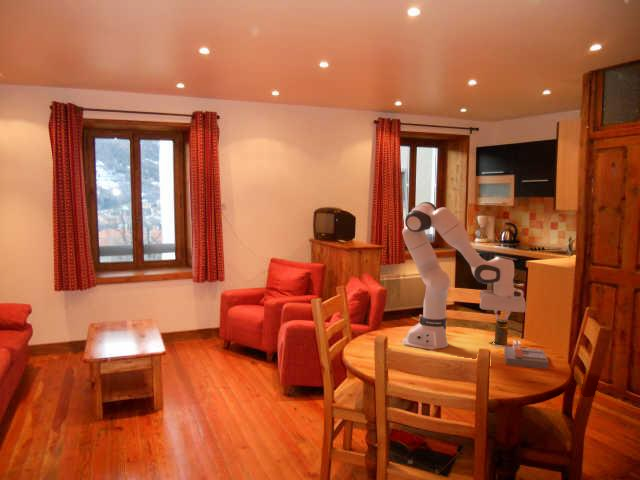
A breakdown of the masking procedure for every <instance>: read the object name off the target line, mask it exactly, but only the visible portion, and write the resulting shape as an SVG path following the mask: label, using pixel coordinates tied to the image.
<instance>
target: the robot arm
mask: <svg viewBox="0 0 640 480" xmlns="http://www.w3.org/2000/svg"><path fill="white" fill-rule="evenodd" d="M404 223H405V226H404V227H403V229H402V232H401V233H402V237H403V241H404V243H405V246H406V247H407V248H406V249H407V250H408V252H409V254H410V255H411V258H412V260H413V261H414V264H415V266H416V269H417V271H418V274H419V275H420V278H421V280H422V282H423V283H424V285H425V293H424V294H425V295H424V299H423V311H422V313H423V314H419V316H418V323H416V324H415V325H414V326H412V327H411V328H410V329H409V330H408V332H407V336H405V337H404V338H403V339H402V344H403V345H404V346H405V347H412V348H414V347H415V348H419V349H425V350H431V351H434V350H438V349H444V348H447V347H448V346H449V343H448V339H447V338H448V337H447V332H446V331H447V325H448V324H447V316H446V315H447V314H446V313H447V299H448V295H449V288H450V285H451V281H450V280H451V279H450V276H449V274H448V273H447V272H446V271H444V270H443V268H441V267H442V266H440V263H439V261H438V260H439V259H438V258H437V255H436V252H435V250H434V248H433V246H432V245H431V242H430V240H429V238H428V236H427V234H426V231H427V230H430V228H433V229H435V230H436V232H437V233H438V234H439V236H440V237H441V239H443V240H444V241H445V243H447V244H448V245H449V246H450V247H452V248H454V249H456V250H457V251H458V252H459V253H460V254H461V255H462V256H463V258H464V259H465V261H467V263H468V265H469V267H470V270H471V274H472V276H473V277H474V278H475V280H476V281H477V282H478V283H480V284H483V285H484V284H485V285H487V284H493V289H482V290H481V291H480V292H479V298H480V303H479V308H480V309H481V310H486V311H487V310H488V311H493V313H494V314H495V316H496V317H495V318H496V321H497V320H501V317H500V315H498V312H499V311H500V312H501V311H502V312H506V313H507V314H506V315H504V318H503V320H506V321H507V322H508V321H509V320H508V319H509V317H510V315H511V313H512V312H514V313H515V312H516V313H525V312H526V311H527V310H526V309H527V304H526V300H525V297H524V294H525V293H524V291H523V290H522V289H520V288H516V287H514V286H515V285H514V277H515V263H514V261H513V259H512V258H511V257H508V256H503V255H497V256H495V257H494V258H492V259H489V260H487V259H484V258H483V257H481V256H480V254H479V253H478V251H477V250H476V249H475V247H473V245H472V244H471V241H470V239H469V235H468V232H467V230H466V228H465V226H464V225H463V224H462V221H460V220H459V218H458V217H457V216H456V215H455V214H454V212H452V211H451V210H450V209H448V208H447V207H445V206H443V207H439V208H437V206H436V205H435V204H434V203H432V202H429V201H424V202H421V203H419V204H417V205H416V206H414V207H413V208H412V210H410V211H409V212H408V213H407V215H406V217H405V220H404Z"/></svg>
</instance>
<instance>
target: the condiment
mask: <svg viewBox="0 0 640 480" xmlns="http://www.w3.org/2000/svg"><path fill="white" fill-rule="evenodd" d="M508 330H509V326H508V321H507V320H504V319H500V320H496V323H495V327H494V341H490V342H488V344H490V343H493V342H494V343H495V344H494V345H493V346H496V347H499V348H501V347H505V346H506V347H507V346H509V345H511V343H509V342H508Z"/></svg>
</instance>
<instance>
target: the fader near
mask: <svg viewBox="0 0 640 480" xmlns="http://www.w3.org/2000/svg"><path fill="white" fill-rule="evenodd" d="M522 348H523V347H522V346H521V347H520V346H515V350H514V354H515V357H521V358H522V357H523V349H522Z"/></svg>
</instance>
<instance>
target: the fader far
mask: <svg viewBox="0 0 640 480" xmlns="http://www.w3.org/2000/svg"><path fill="white" fill-rule="evenodd" d="M521 344H522V343H521V341H520V340H512V347H513V350H515V346H520V347H522V345H521Z"/></svg>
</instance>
